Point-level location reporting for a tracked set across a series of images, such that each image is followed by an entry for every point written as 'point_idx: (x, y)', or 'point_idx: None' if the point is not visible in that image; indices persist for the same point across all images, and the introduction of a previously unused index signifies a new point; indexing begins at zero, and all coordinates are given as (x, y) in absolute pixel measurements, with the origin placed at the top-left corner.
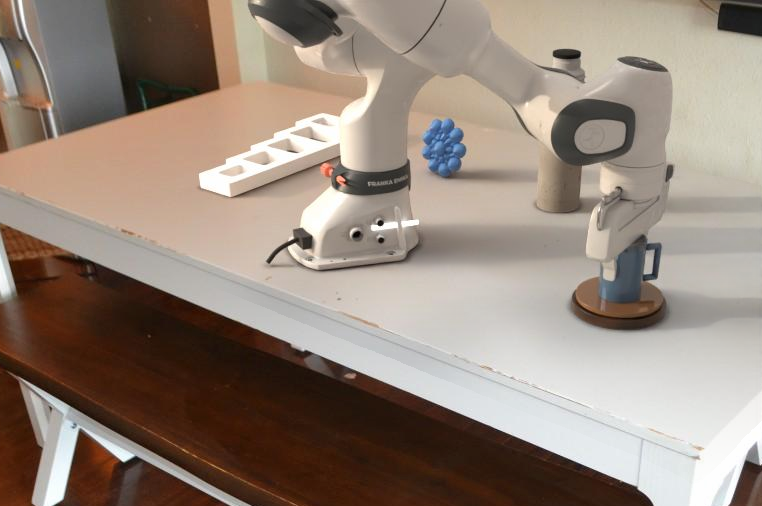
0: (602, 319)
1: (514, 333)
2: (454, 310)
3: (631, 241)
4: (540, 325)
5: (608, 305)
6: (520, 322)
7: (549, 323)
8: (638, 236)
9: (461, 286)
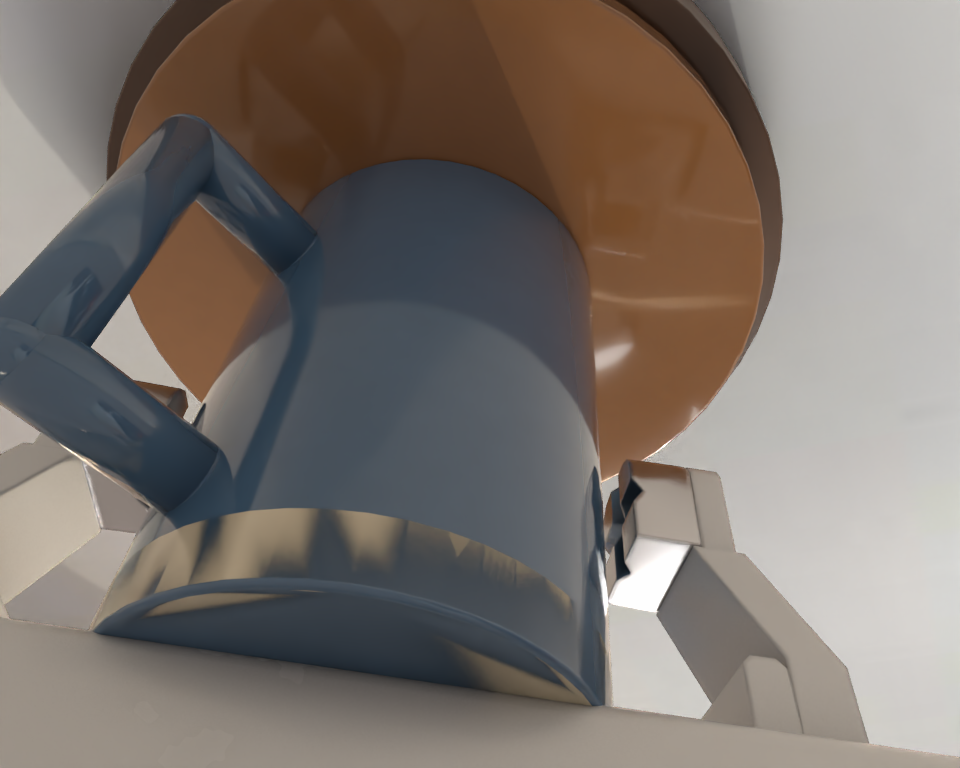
0: (764, 304)
1: (898, 576)
2: None
3: (567, 759)
4: (793, 515)
5: (650, 329)
6: (779, 576)
7: (762, 491)
8: (304, 704)
9: None
